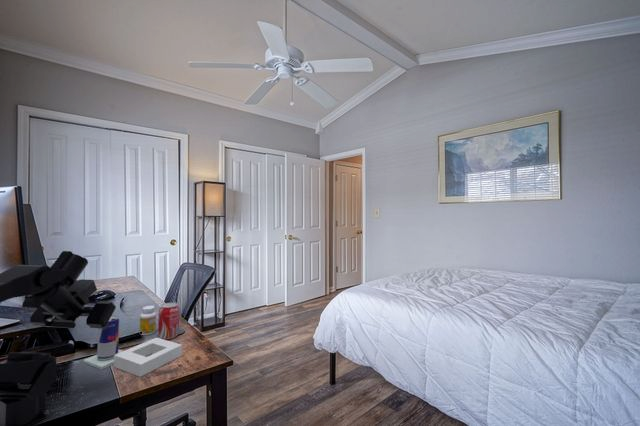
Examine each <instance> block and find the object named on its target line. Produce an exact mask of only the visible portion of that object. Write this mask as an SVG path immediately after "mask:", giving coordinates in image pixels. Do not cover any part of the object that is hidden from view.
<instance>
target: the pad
mask: <svg viewBox="0 0 640 426" xmlns="http://www.w3.org/2000/svg"><path fill="white" fill-rule="evenodd" d="M123 351H124V350H122V349H120V348H119V349H118V353H120V352H123ZM83 364H87V365H89V366H91V367H94V368H95V369H96V368H97V369H99V370H104V369H106V368H108V367H110V366H114V358H113V359H110V360H106V361H100V360H98V359H97V354H95V355H93V356H90V357H87V358H84V359H83Z"/></svg>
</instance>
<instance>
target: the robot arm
mask: <svg viewBox="0 0 640 426" xmlns="http://www.w3.org/2000/svg"><path fill="white" fill-rule="evenodd" d="M88 264H89V260H88V259H87V258H85V257H83V256H81V255H79V254H76V253H73V251H71V250H70V251H69V250H62V252H60V254H59V256H58V257H57V259H55V261H54V263H53V264H51V266H49V265H37V264H36V265H32V264H17V265H14V266H12V267H10V268H9V269H6V270H5V271H3V272H0V304H1V303H3V302H5V301H8V300H11V299H15V298H20V297H24V300H23V301H22V305H21V307H22V308H23V309H35V310H34V311H33V313H32V315H30V317H29V324H32V325H34V326H37V327H38V326H40V327H46V328H61V329H62V328H63V329H64V328H65V329H75V327H76V323H75V322H76V320H77V319H78V318H79V317H86V320H85V321H86V322H85V323H86V325H87V326H88V327H89V328H91V329H107V327H108V321H109V319H110V318H111V316H113V314H114V312H115V310H116V308H117V306H116V305H115V304H114V303H113V301H98V302H95V304H94V305H93V306H86V305H88V303H90V300H89V297H91V296H92V295H93V294H94V293H96V292H97V290H98V289H97V285H96V282H95V280H94V279H82V278H81V279H79V277H80V276H81V274H82V273H83V271H84V270H85V269H86V267H87V266H88ZM57 369H58V363H57V358H56V357H55V356H53V355H52V352H42V351H41V352H40V351H22V352H8V355H7V357H6V359H5V360H2V361H0V426H32V425H34V424H36V423H39V422H40V421H42V420H44V419H46V418H47V417H48V414H47V413H46V411H47V410H46V409H47V393H46V392H47V391H49V390H50V389H52V386H53V382H54V379H55V375H56V372H57Z"/></svg>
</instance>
